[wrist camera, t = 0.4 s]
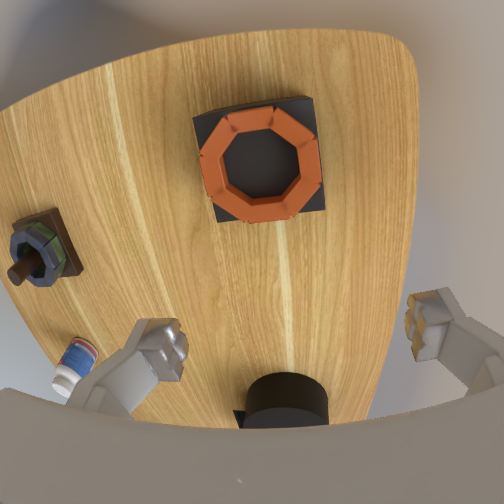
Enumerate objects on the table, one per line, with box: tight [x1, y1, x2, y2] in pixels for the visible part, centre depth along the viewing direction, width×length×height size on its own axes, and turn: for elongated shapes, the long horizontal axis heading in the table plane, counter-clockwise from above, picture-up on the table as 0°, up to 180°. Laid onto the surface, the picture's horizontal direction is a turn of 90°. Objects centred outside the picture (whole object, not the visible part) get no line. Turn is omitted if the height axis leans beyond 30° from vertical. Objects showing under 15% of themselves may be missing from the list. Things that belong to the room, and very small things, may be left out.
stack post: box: [7, 208, 84, 287], centre depth 31 cm, size 9×9×8 cm
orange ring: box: [199, 106, 322, 224], centre depth 21 cm, size 8×8×1 cm
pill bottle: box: [52, 338, 98, 398], centre depth 41 cm, size 6×5×10 cm
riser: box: [192, 95, 325, 223], centre depth 24 cm, size 8×8×6 cm
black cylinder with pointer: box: [233, 372, 329, 429], centre depth 44 cm, size 14×18×8 cm
